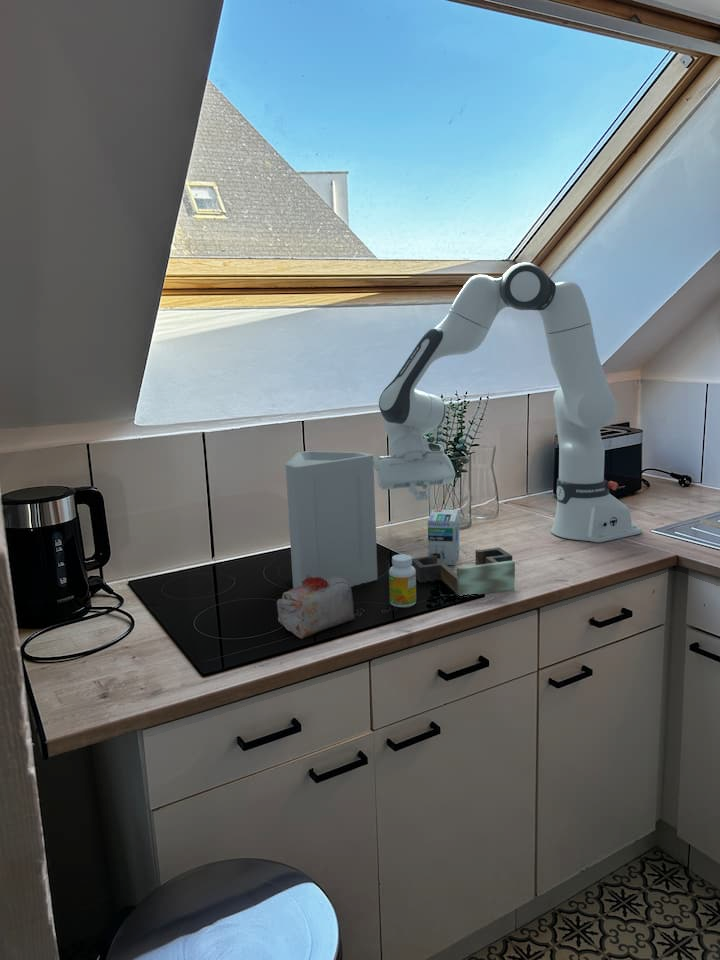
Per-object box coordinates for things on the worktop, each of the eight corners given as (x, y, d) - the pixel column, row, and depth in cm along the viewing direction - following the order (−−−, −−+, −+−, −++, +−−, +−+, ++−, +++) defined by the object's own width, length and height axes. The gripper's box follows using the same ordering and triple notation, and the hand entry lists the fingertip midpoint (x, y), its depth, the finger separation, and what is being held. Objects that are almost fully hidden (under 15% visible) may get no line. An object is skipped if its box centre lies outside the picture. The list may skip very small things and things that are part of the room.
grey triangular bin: (344, 562, 173) (339, 446, 166) (379, 579, 160) (374, 455, 154) (272, 579, 163) (263, 457, 157) (303, 599, 150) (295, 467, 144)
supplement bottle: (384, 603, 146) (382, 558, 144) (401, 595, 150) (400, 551, 148) (404, 610, 143) (403, 563, 141) (421, 602, 147) (420, 556, 144)
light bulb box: (456, 566, 167) (456, 521, 165) (427, 565, 168) (426, 520, 166) (459, 551, 177) (459, 509, 175) (432, 550, 178) (431, 508, 176)
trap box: (498, 561, 169) (499, 536, 167) (534, 586, 152) (535, 559, 151) (410, 572, 163) (409, 547, 162) (438, 600, 147) (437, 572, 146)
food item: (299, 644, 130) (296, 592, 128) (275, 630, 136) (272, 581, 134) (358, 622, 138) (356, 573, 136) (333, 610, 144) (331, 563, 142)
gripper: (374, 450, 185) (386, 495, 178) (449, 444, 190) (463, 489, 183) (369, 464, 190) (381, 509, 183) (442, 458, 195) (456, 502, 188)
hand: (422, 499), depth 183 cm, fingers closed
